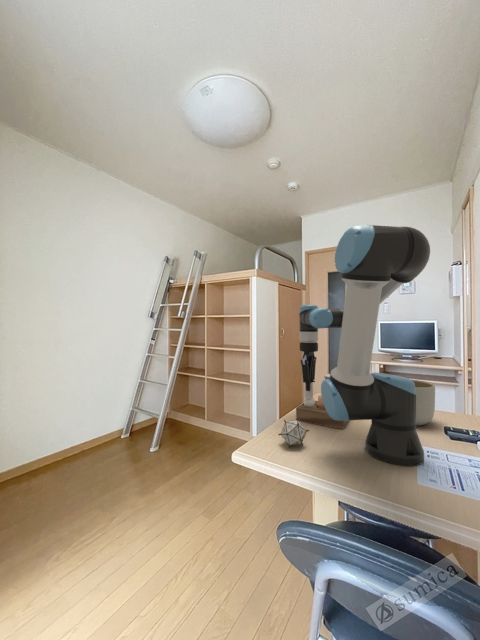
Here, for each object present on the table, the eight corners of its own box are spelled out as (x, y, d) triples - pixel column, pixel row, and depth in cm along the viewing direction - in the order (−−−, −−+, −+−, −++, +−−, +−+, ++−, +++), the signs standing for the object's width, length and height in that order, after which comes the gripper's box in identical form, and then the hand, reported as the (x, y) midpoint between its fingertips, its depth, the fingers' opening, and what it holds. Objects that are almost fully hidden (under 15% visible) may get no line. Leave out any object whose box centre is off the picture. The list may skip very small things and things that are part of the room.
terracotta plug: (327, 412, 107) (327, 398, 107) (316, 411, 110) (316, 397, 110) (330, 410, 111) (330, 396, 111) (320, 408, 113) (319, 394, 114)
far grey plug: (312, 414, 111) (312, 400, 111) (302, 412, 113) (302, 399, 113) (316, 411, 114) (316, 398, 114) (306, 409, 117) (306, 396, 117)
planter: (392, 427, 101) (391, 386, 102) (380, 413, 118) (379, 377, 118) (444, 431, 97) (443, 388, 98) (424, 415, 114) (424, 379, 114)
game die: (294, 454, 89) (302, 424, 94) (308, 455, 81) (316, 422, 86) (270, 442, 88) (280, 412, 92) (283, 442, 80) (292, 410, 85)
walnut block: (342, 429, 100) (342, 415, 100) (296, 420, 109) (296, 407, 110) (350, 418, 111) (350, 406, 111) (308, 410, 121) (308, 399, 121)
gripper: (305, 340, 122) (305, 393, 121) (294, 342, 111) (294, 400, 111) (322, 341, 118) (322, 395, 117) (312, 343, 107) (312, 403, 106)
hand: (309, 398), depth 114 cm, fingers closed
